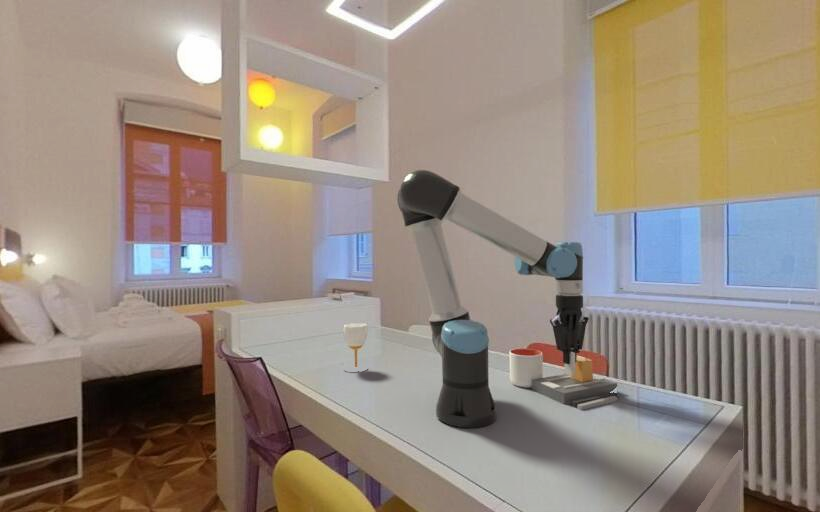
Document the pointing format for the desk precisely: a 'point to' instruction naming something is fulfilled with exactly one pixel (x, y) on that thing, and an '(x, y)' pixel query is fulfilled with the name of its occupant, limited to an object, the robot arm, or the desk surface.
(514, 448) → the desk surface
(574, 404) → the black bar
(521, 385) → the cup
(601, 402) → the cord grey
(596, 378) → the box
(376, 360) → the desk surface
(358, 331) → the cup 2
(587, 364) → the breaker toggle
